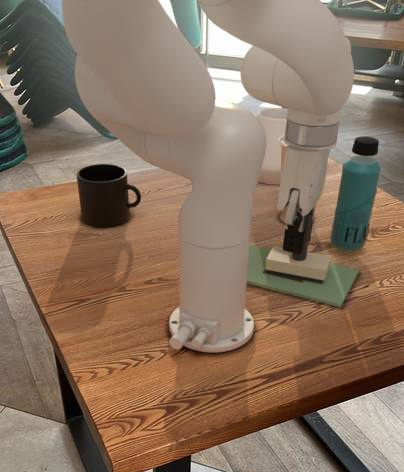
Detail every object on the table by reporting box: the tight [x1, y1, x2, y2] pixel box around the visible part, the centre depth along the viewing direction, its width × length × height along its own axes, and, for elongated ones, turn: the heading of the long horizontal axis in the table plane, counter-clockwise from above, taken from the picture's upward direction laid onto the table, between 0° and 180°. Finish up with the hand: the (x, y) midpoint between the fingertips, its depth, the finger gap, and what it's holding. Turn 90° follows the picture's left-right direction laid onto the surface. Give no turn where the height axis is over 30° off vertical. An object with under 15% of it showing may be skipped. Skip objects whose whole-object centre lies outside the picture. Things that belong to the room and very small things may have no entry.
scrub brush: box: [265, 210, 332, 284], centre depth 93 cm, size 5×10×11 cm, turn 70°
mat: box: [247, 244, 360, 308], centre depth 97 cm, size 12×20×1 cm, turn 65°
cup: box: [256, 107, 288, 186], centre depth 127 cm, size 13×13×14 cm
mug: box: [76, 163, 142, 228], centre depth 111 cm, size 9×12×9 cm
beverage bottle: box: [329, 135, 382, 252], centre depth 98 cm, size 6×7×20 cm
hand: (296, 245), depth 94 cm, fingers open, 3 cm apart
